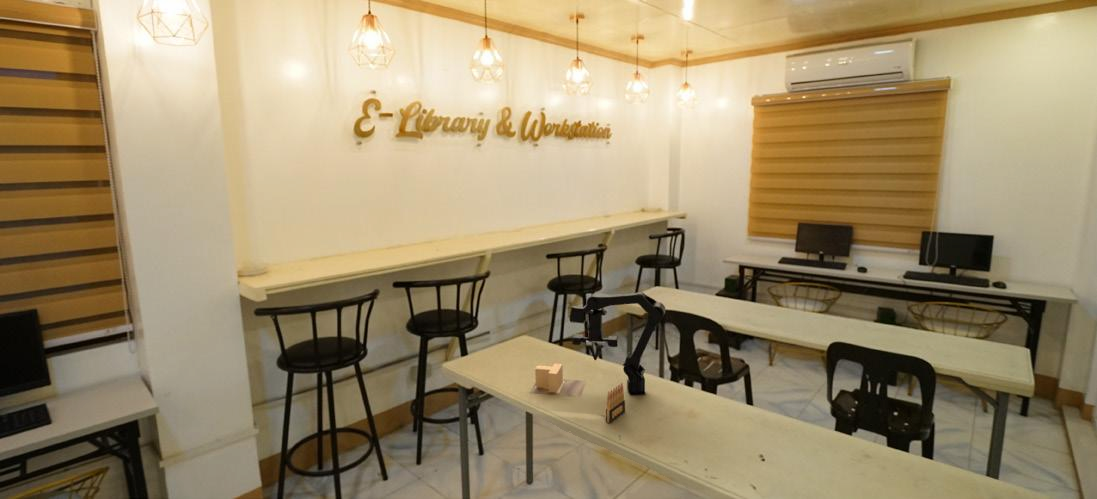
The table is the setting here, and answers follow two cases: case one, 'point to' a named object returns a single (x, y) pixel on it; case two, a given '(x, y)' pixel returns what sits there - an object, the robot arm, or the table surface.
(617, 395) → the ammunition clip
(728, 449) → the table surface
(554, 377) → the t block
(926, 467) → the table surface
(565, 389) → the board
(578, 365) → the table surface
